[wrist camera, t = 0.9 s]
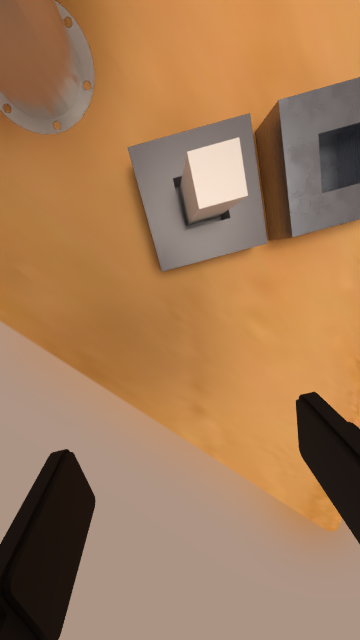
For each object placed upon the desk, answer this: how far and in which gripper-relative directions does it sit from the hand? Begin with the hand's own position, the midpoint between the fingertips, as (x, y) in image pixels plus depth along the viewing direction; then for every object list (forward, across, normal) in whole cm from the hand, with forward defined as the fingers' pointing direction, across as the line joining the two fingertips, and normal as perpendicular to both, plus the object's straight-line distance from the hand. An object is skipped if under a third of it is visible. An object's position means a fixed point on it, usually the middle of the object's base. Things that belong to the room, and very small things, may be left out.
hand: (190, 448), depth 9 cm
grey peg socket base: (+25, -6, -12) cm, 29 cm away
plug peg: (+24, -6, -12) cm, 28 cm away
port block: (+25, -22, -12) cm, 36 cm away
